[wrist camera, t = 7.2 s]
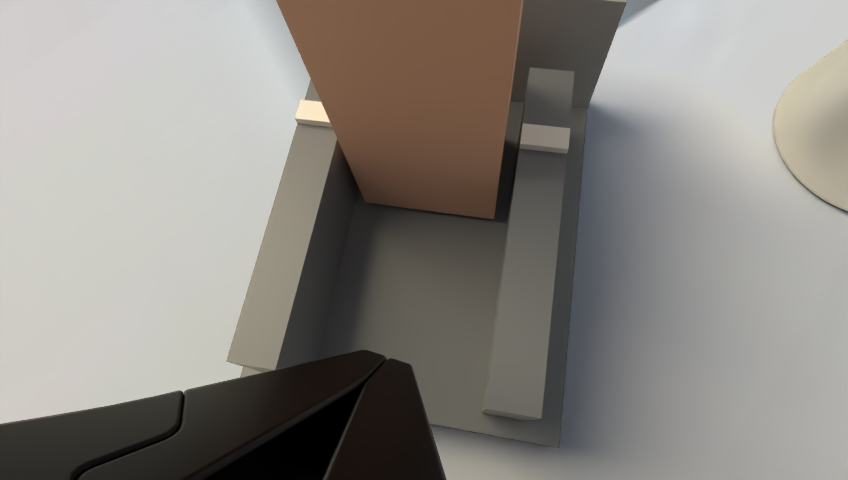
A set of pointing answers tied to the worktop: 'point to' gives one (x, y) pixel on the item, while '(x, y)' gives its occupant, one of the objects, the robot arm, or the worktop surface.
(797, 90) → the beer glass
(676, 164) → the worktop surface
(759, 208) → the worktop surface
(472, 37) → the plug
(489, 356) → the socket track
